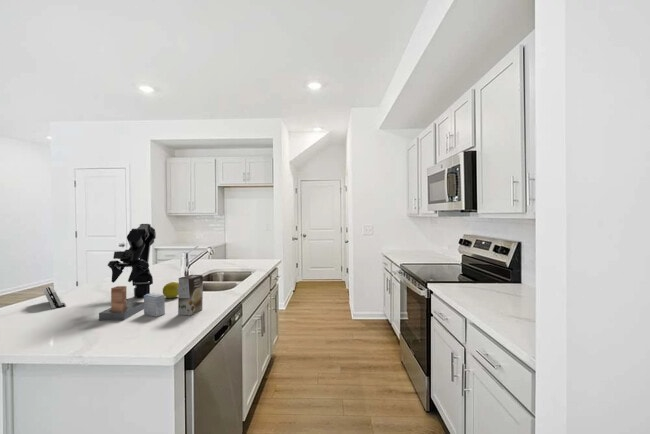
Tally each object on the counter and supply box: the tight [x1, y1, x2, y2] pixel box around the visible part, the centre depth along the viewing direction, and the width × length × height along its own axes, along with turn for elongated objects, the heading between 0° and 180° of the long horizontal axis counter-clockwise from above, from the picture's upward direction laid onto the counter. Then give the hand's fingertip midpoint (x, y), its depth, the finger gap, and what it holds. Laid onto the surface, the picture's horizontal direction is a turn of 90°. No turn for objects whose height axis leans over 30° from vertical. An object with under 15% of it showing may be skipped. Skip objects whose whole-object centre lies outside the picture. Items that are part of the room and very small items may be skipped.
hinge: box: [42, 285, 67, 310], centre depth 152 cm, size 17×5×10 cm, turn 46°
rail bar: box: [98, 301, 144, 321], centre depth 138 cm, size 16×10×3 cm, turn 3°
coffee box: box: [177, 274, 204, 316], centre depth 142 cm, size 9×6×16 cm
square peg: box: [110, 285, 127, 311], centre depth 135 cm, size 4×4×12 cm
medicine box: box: [143, 292, 166, 318], centre depth 138 cm, size 8×4×9 cm, turn 65°
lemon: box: [162, 281, 179, 299], centre depth 166 cm, size 11×8×8 cm
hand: (120, 282), depth 144 cm, fingers open, 9 cm apart
